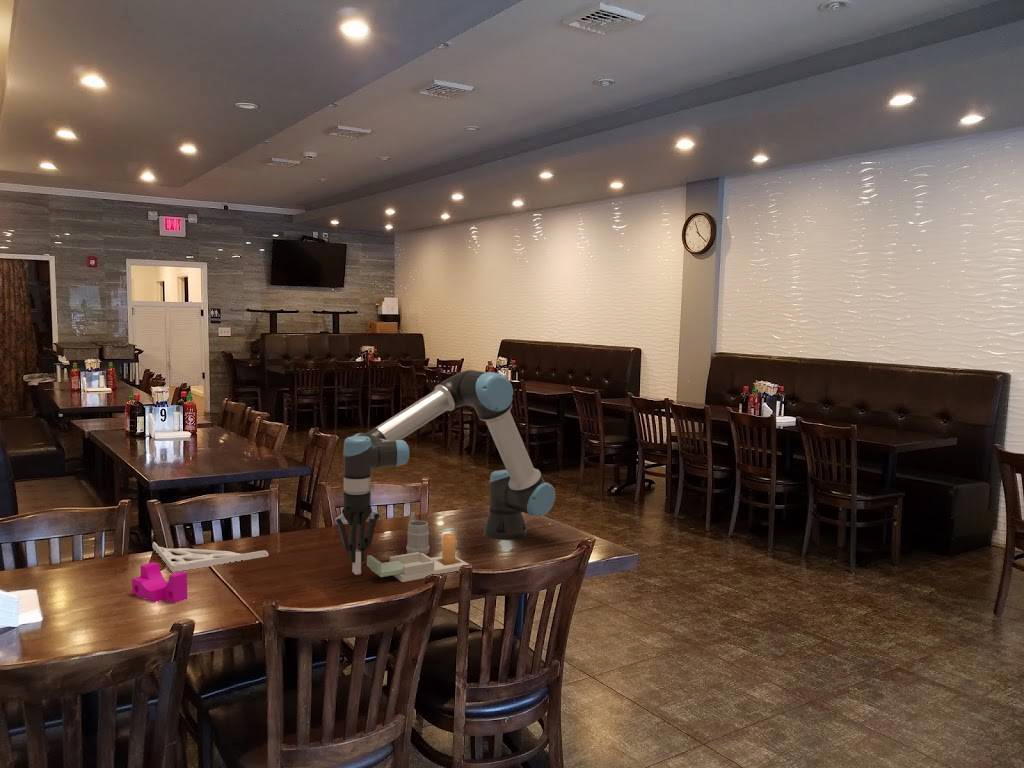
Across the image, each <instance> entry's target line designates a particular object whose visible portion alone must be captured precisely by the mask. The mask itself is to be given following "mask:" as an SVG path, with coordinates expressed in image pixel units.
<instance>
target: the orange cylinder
mask: <svg viewBox="0 0 1024 768" xmlns="http://www.w3.org/2000/svg"><path fill="white" fill-rule="evenodd" d="M456 541H457V537H456V534H453V533H443V534H442V548H441V549H442V550H441V551H442V553H441V556H442V564H443V565H451V564H455V556H456V551H457V550H456V549H457V548H456V547H457V545H456V543H457V542H456Z"/></svg>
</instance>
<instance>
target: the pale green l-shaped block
mask: <svg viewBox="0 0 1024 768" xmlns="http://www.w3.org/2000/svg"><path fill="white" fill-rule="evenodd" d="M403 566H405V565H404V564H402V563H401V562H399V561H392V562H389V561H388V562H386V561H385V562H381V561H380V560H379V559H377V558H376V557H374V556H373V555H371V554H369V555H366V567H368V568H369V569H370V571H372V572H373V573H374V574H376V575H377V576H378V577H380V578H384V577H390V576H393V575H396V574H401V573H403Z"/></svg>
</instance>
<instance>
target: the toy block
mask: <svg viewBox="0 0 1024 768" xmlns="http://www.w3.org/2000/svg"><path fill="white" fill-rule="evenodd" d="M139 568H140V576H138V577H132V578H131V594H132V593H133V594H135V595H138V596H140V597H139V598H141V597H143V598H142V599H144V598H146V599H148V600H147V601H149V600H151V601H150V602H152V601H154V602H153V603H157V602H156V601H158V602H160V601H159V600H161V601H163V600H162V599H165V600H164V601H166V600H168V601H167V602H169V601H171V602H170V603H172V602H173V603H172V604H177V603H180V602H182V601H181V600H183V601H185V600H184V599H186V600H188V572H187V571H184V572H183V571H182V572H178V573H172V574H170V575H168V581H167V580H166V579H165V578H164V575H163V574H162V572H161V568H160V563H157V562H155V561H152V562H148V563H145V564H141V565H140V567H139ZM135 595H134V596H135ZM138 596H137V597H138ZM146 599H145V600H146ZM179 601H180V602H179ZM176 602H177V603H176Z"/></svg>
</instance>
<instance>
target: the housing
mask: <svg viewBox="0 0 1024 768" xmlns="http://www.w3.org/2000/svg"><path fill="white" fill-rule="evenodd" d="M392 561H399V562H401V563H402V564H404V565H405V566H403V573H401V574H396V575H392V577H394V578H396V579H397V580H398V581H400V582H401V583H406V582H411V581H417V580H421V579H426V578H425V577H426V576H428V575H431V574H440V573H447V572H454V571H459V569H460V567H461V566H462V565H469V566H470V563H467V562H466V561H464V560H462V559H461V558H459V557H457V556H456V555H455V564H451V565H443V564H442V555H439V556H434V557H433V556H432V557H430V556H428V555H427V554H426V555H425V554H423V553H419V552H415V553H409V554H408V553H405V554H404V553H403V554H399V555H392V556H389V561H388V562H392ZM459 572H460V571H459ZM454 573H455V572H454Z"/></svg>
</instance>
